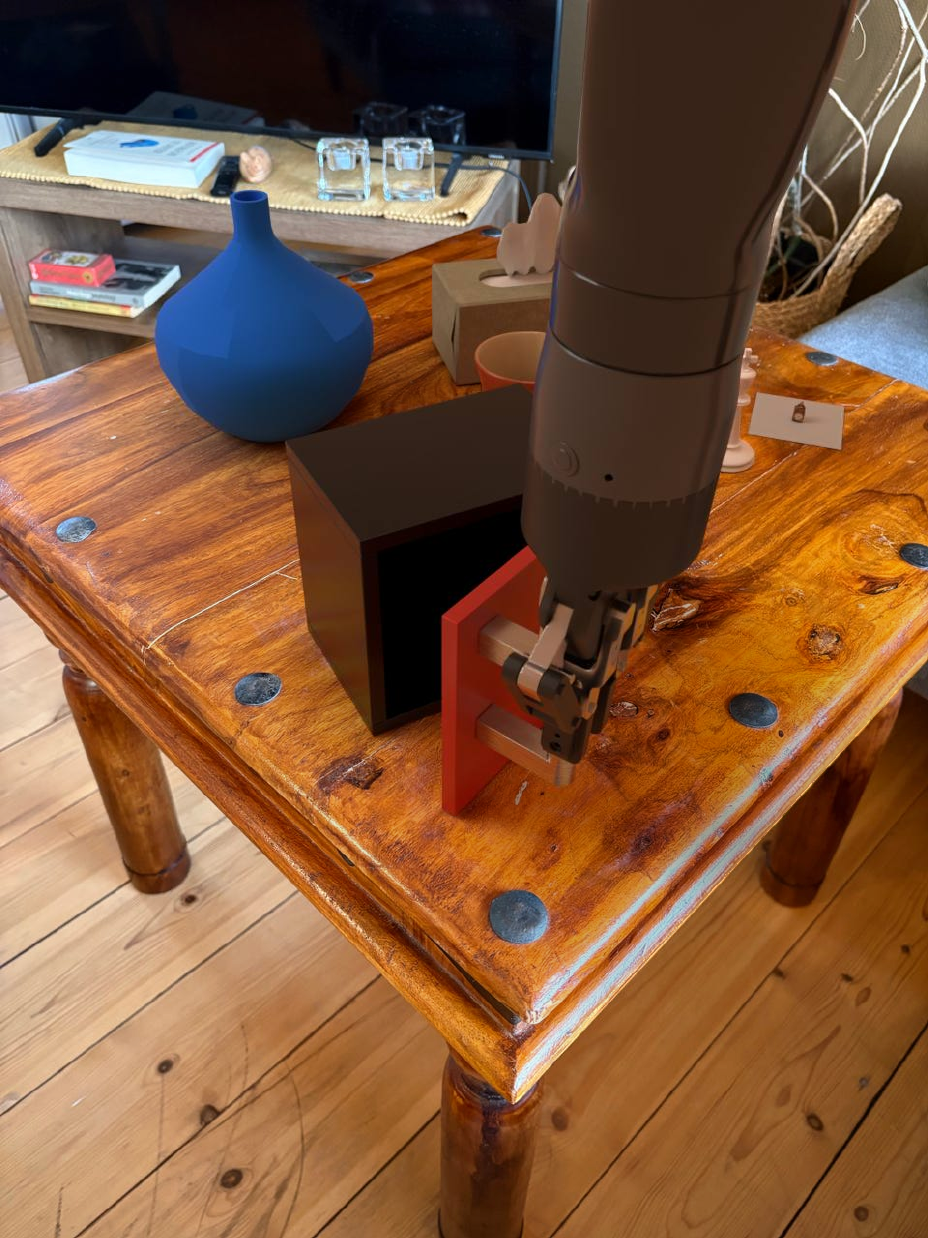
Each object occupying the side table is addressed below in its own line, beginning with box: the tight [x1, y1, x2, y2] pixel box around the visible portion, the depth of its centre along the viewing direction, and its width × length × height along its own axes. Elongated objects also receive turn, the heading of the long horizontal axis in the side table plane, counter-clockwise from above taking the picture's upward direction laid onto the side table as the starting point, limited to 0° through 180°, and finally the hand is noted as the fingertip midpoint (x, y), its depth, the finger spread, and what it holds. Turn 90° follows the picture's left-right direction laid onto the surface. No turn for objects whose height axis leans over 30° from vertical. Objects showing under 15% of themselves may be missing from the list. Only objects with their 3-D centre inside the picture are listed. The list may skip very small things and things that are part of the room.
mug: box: [474, 331, 546, 393], centre depth 81 cm, size 12×9×10 cm
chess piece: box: [721, 347, 759, 473], centre depth 82 cm, size 5×5×10 cm
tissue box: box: [431, 192, 562, 386], centre depth 94 cm, size 19×10×16 cm, turn 105°
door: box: [441, 545, 582, 817], centre depth 55 cm, size 7×16×15 cm, turn 142°
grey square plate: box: [747, 391, 845, 451], centre depth 90 cm, size 8×8×2 cm
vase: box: [154, 189, 375, 443], centre depth 83 cm, size 18×18×19 cm
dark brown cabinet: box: [284, 383, 533, 737], centre depth 62 cm, size 11×16×15 cm
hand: (573, 737), depth 50 cm, fingers closed on door, 2 cm apart
